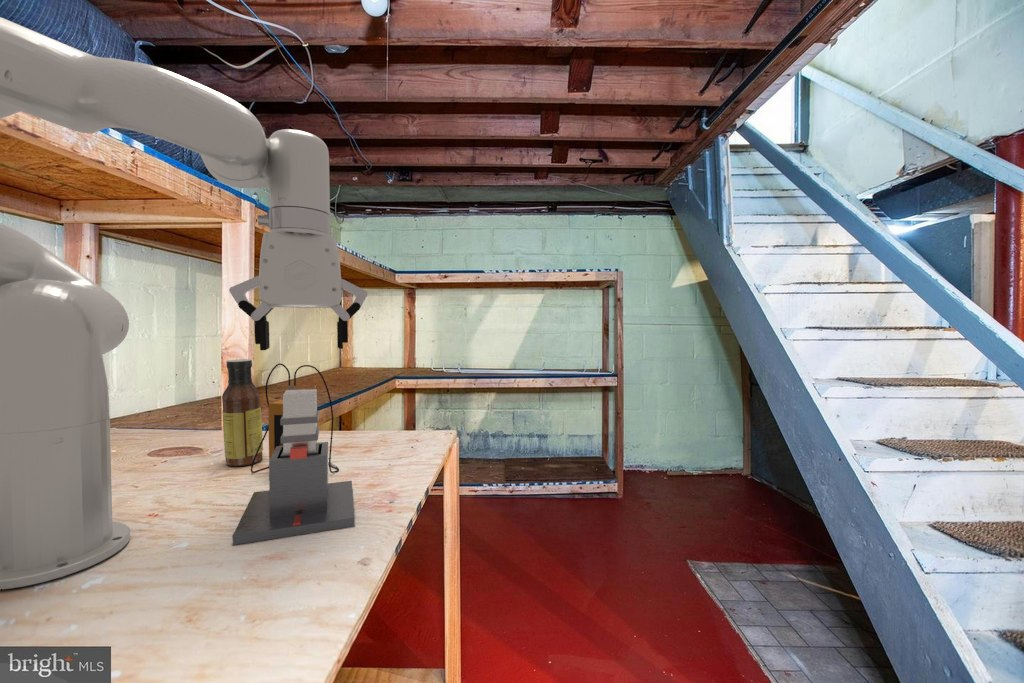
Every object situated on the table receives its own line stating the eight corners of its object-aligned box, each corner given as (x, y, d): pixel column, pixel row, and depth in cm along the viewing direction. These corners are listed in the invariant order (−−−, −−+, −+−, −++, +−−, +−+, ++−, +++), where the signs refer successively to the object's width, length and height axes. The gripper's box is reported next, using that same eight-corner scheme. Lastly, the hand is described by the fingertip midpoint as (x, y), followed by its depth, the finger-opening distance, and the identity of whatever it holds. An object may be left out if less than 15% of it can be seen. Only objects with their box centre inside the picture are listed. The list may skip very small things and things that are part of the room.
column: (280, 511, 57) (280, 395, 57) (285, 497, 62) (284, 389, 61) (317, 506, 59) (317, 393, 58) (319, 493, 63) (319, 388, 63)
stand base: (232, 545, 51) (231, 461, 51) (254, 499, 64) (253, 432, 64) (354, 526, 57) (354, 450, 56) (351, 487, 69) (351, 425, 69)
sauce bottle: (261, 455, 85) (260, 357, 84) (265, 463, 80) (264, 360, 79) (222, 460, 81) (220, 359, 80) (223, 470, 76) (222, 361, 75)
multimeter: (354, 461, 83) (354, 360, 82) (327, 479, 73) (326, 365, 72) (284, 457, 84) (283, 358, 83) (248, 475, 74) (247, 363, 73)
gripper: (220, 214, 52) (225, 352, 53) (368, 227, 58) (369, 349, 59) (234, 227, 59) (238, 348, 60) (364, 236, 65) (366, 346, 66)
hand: (303, 348), depth 59 cm, fingers open, 9 cm apart
